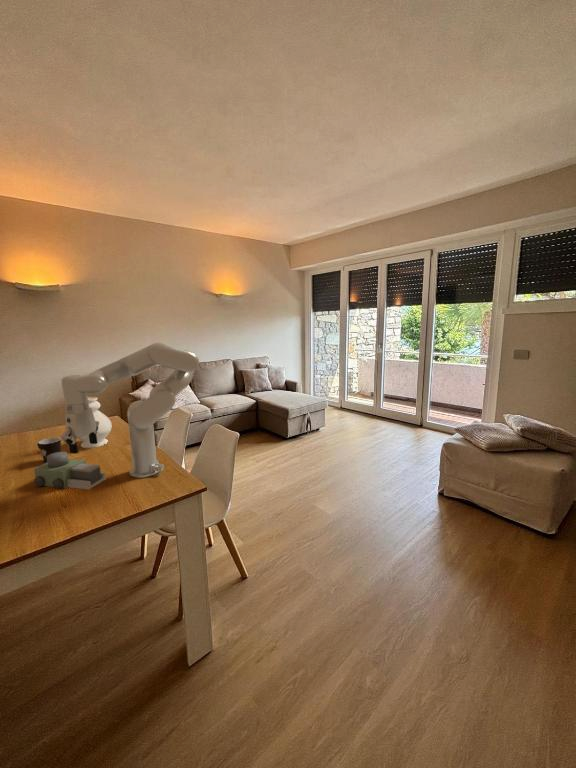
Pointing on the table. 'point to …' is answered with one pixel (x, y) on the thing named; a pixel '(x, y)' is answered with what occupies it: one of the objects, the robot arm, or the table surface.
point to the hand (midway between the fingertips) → (84, 448)
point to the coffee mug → (49, 446)
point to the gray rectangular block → (86, 472)
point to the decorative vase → (102, 428)
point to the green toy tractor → (61, 473)
